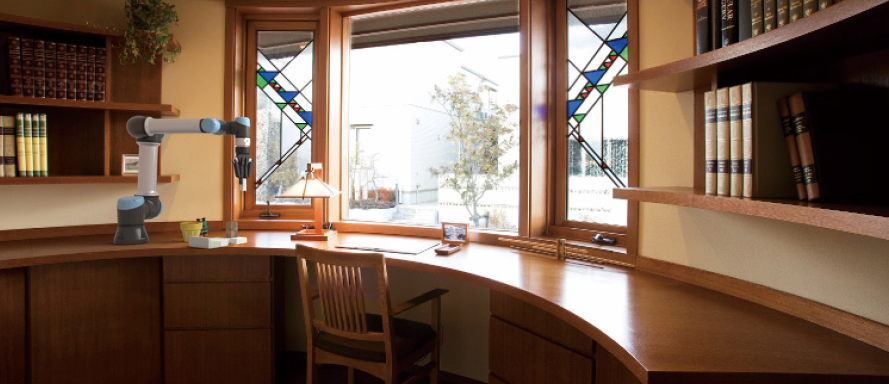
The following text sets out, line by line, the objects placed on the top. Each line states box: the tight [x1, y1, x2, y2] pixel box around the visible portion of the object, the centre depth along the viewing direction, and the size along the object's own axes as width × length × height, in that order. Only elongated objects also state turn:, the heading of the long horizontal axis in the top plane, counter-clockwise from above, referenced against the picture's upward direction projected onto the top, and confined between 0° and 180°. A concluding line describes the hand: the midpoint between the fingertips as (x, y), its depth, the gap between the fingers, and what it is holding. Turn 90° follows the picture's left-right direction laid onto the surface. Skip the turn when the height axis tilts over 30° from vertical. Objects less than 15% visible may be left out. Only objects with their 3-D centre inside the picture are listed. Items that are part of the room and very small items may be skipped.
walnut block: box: [225, 221, 239, 238], centre depth 260 cm, size 4×4×8 cm
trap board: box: [188, 236, 248, 249], centre depth 253 cm, size 23×14×5 cm, turn 154°
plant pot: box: [179, 221, 202, 243], centre depth 262 cm, size 10×10×10 cm
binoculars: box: [196, 217, 209, 237], centre depth 280 cm, size 9×11×10 cm
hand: (243, 190), depth 268 cm, fingers closed
